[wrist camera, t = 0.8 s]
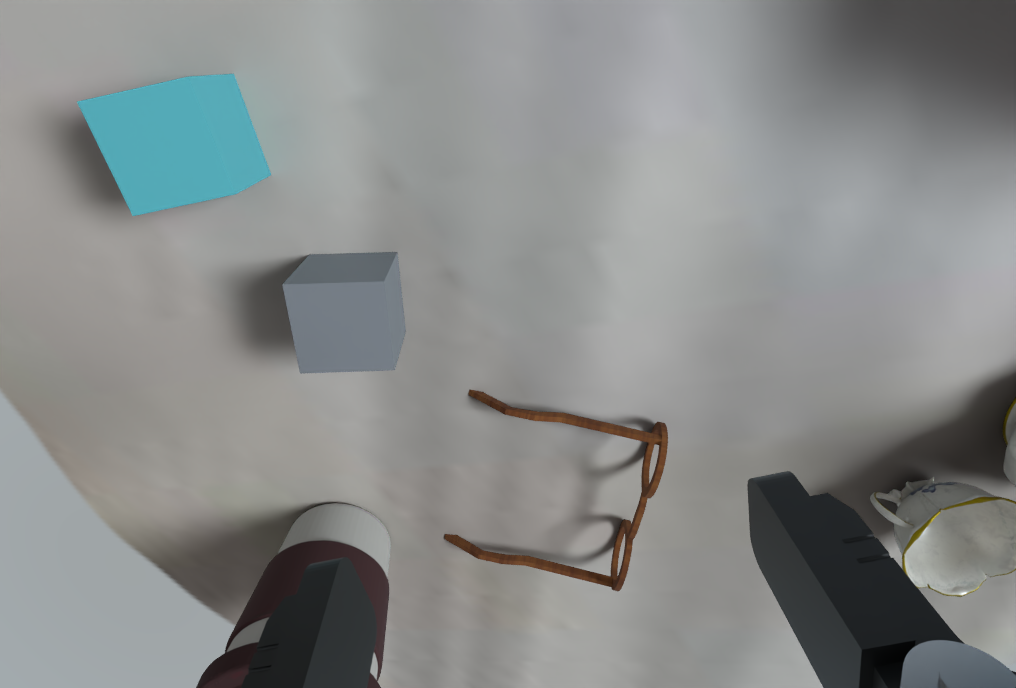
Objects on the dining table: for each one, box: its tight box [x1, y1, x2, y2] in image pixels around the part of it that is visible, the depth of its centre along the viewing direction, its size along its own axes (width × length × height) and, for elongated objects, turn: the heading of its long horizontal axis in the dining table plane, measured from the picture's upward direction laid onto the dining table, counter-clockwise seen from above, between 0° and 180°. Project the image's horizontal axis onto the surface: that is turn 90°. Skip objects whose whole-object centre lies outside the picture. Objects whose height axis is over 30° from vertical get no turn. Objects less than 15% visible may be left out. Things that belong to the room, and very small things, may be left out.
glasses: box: [445, 390, 668, 591], centre depth 39 cm, size 13×13×5 cm
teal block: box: [77, 74, 271, 216], centre depth 28 cm, size 5×5×5 cm
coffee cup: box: [196, 503, 391, 688], centre depth 36 cm, size 10×10×15 cm
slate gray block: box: [282, 252, 406, 373], centre depth 32 cm, size 5×5×5 cm
